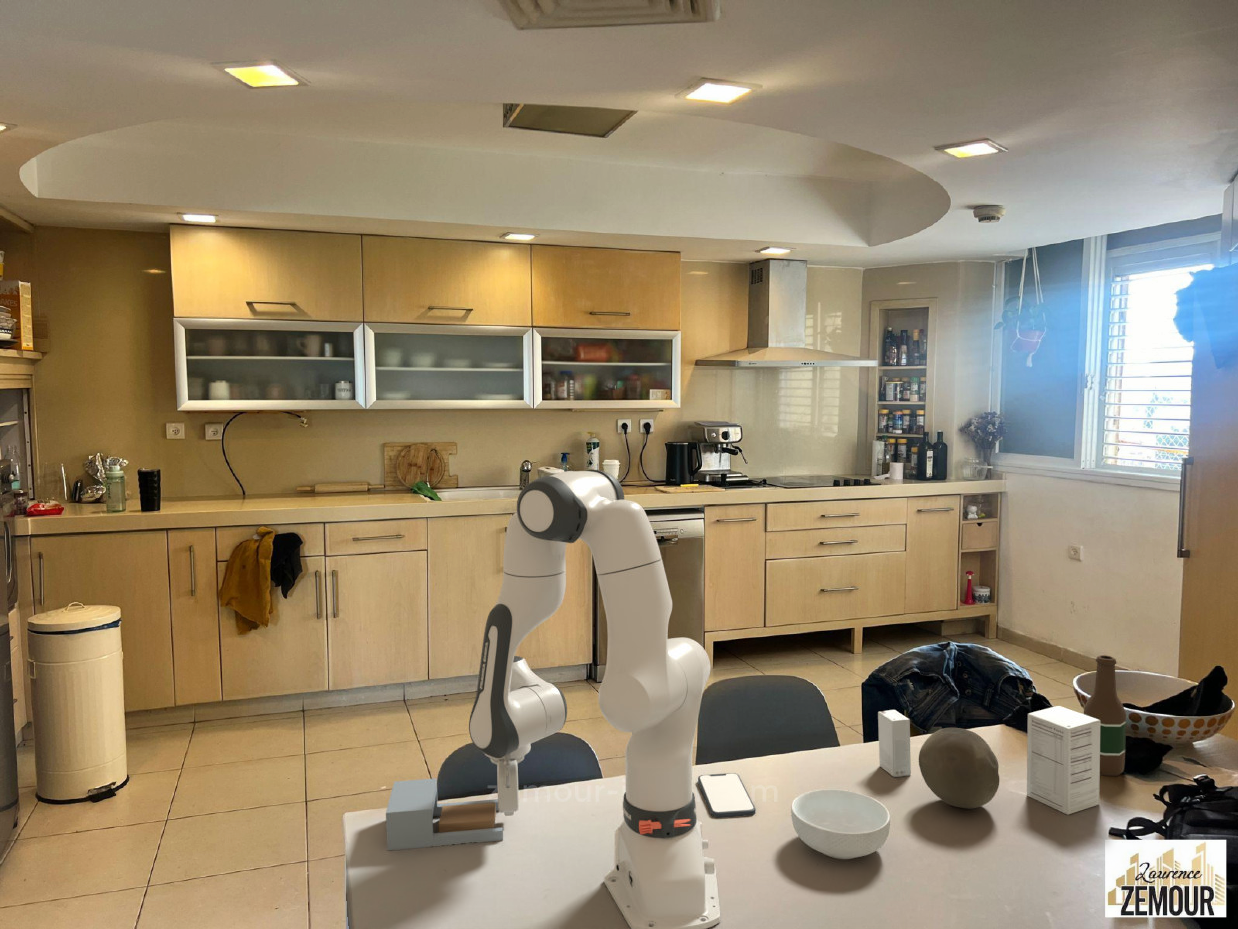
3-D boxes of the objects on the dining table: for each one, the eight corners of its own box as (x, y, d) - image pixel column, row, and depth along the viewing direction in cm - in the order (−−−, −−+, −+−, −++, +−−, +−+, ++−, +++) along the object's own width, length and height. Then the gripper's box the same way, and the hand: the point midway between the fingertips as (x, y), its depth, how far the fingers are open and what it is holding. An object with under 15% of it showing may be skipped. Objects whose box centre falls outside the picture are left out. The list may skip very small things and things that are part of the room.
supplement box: (1100, 805, 165) (1103, 720, 164) (1068, 816, 161) (1070, 729, 160) (1056, 785, 174) (1058, 704, 172) (1024, 795, 170) (1026, 712, 169)
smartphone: (757, 818, 164) (738, 779, 180) (757, 810, 164) (738, 772, 180) (711, 821, 163) (696, 782, 179) (711, 813, 163) (696, 775, 179)
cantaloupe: (950, 783, 175) (951, 712, 174) (1014, 811, 164) (1015, 734, 162) (904, 802, 168) (904, 728, 167) (967, 833, 156) (969, 753, 155)
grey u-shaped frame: (503, 840, 157) (501, 803, 156) (387, 850, 154) (385, 813, 153) (502, 807, 169) (501, 773, 168) (395, 816, 166) (394, 781, 166)
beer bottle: (1073, 764, 183) (1076, 653, 181) (1102, 758, 186) (1105, 649, 184) (1103, 779, 176) (1107, 664, 174) (1133, 773, 178) (1137, 660, 176)
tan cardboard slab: (494, 836, 159) (493, 820, 159) (439, 839, 158) (438, 824, 158) (495, 817, 166) (495, 802, 166) (443, 821, 165) (442, 806, 165)
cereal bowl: (908, 849, 151) (909, 810, 151) (854, 886, 140) (854, 844, 140) (827, 814, 164) (827, 778, 163) (771, 846, 153) (771, 808, 152)
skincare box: (911, 775, 179) (912, 719, 178) (892, 778, 178) (892, 721, 177) (896, 763, 185) (896, 708, 184) (877, 765, 184) (877, 710, 183)
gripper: (525, 764, 152) (527, 839, 153) (522, 720, 172) (524, 786, 173) (489, 766, 151) (491, 842, 152) (490, 722, 171) (492, 789, 173)
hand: (509, 812), depth 163 cm, fingers closed
